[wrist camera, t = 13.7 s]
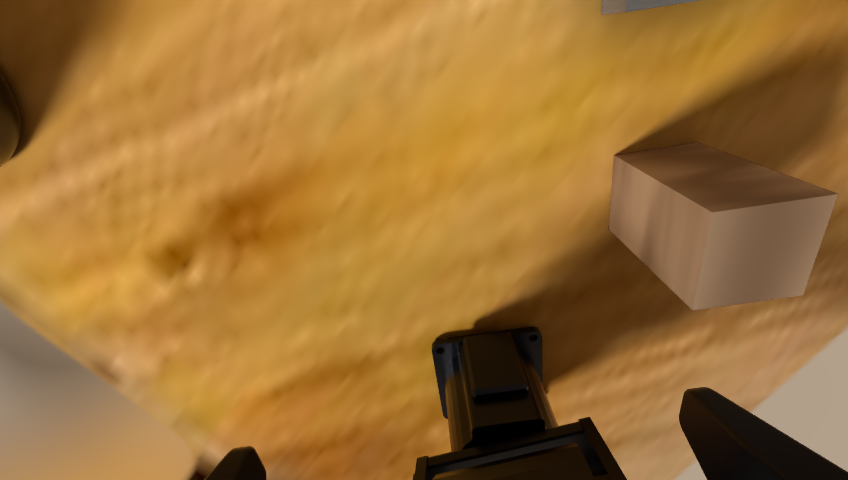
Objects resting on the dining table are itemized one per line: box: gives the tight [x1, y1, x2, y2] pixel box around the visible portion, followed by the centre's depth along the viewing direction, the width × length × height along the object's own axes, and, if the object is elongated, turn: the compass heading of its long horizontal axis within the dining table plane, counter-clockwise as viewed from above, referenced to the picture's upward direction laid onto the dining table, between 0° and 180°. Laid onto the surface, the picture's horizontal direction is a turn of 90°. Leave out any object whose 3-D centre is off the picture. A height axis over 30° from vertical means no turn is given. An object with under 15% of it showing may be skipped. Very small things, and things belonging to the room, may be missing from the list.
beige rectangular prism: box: [609, 142, 838, 310], centre depth 17 cm, size 4×4×7 cm
